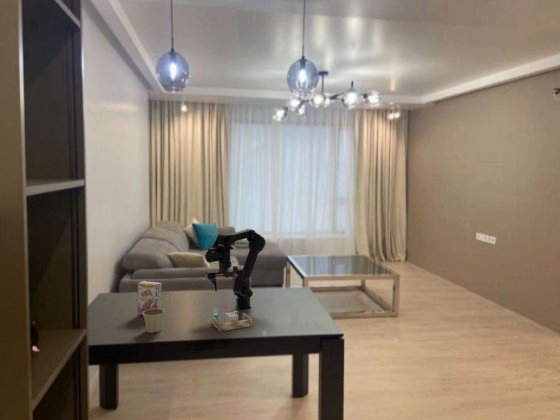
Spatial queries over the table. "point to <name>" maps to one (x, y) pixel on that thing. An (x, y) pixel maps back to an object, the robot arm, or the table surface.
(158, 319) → the flower pot
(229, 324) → the open wooden frame
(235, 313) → the teal block pair
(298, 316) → the table surface
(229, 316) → the block
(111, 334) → the table surface
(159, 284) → the candy bar box
